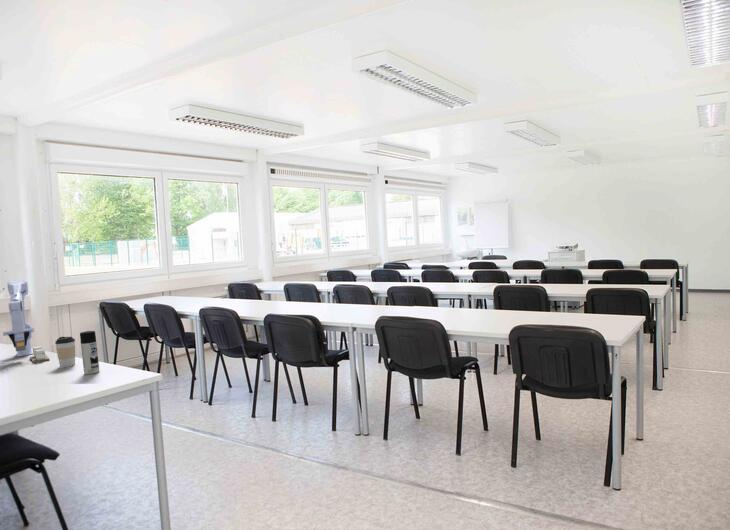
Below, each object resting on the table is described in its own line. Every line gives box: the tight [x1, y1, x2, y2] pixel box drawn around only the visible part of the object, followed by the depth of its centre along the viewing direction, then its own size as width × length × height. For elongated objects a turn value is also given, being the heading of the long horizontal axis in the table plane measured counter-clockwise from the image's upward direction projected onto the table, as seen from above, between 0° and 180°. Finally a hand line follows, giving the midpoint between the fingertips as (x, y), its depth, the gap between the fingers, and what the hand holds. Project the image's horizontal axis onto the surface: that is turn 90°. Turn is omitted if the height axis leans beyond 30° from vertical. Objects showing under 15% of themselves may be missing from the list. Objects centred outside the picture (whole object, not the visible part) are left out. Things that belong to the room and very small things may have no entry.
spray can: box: [79, 330, 100, 375], centre depth 255 cm, size 7×7×20 cm
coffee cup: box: [54, 336, 76, 368], centre depth 276 cm, size 9×9×15 cm
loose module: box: [15, 339, 26, 352], centre depth 297 cm, size 5×4×6 cm
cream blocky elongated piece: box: [29, 345, 50, 364], centre depth 298 cm, size 17×8×6 cm, turn 37°
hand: (20, 346), depth 297 cm, fingers closed on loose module, 4 cm apart
